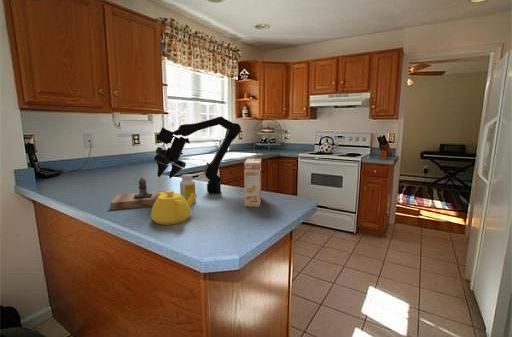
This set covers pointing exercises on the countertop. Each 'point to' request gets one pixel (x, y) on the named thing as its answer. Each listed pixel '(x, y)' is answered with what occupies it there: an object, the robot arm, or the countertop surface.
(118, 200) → the board
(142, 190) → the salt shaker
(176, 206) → the teapot
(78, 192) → the countertop surface
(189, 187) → the supplement bottle
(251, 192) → the coffeecake box
